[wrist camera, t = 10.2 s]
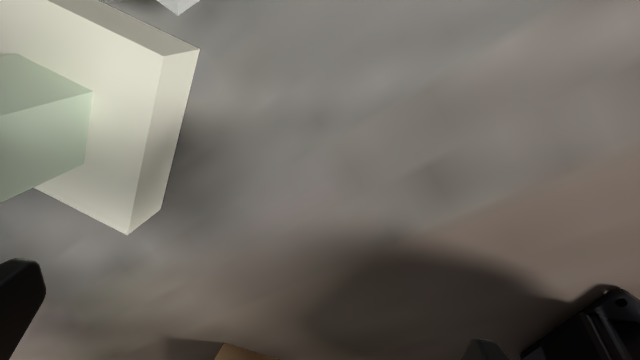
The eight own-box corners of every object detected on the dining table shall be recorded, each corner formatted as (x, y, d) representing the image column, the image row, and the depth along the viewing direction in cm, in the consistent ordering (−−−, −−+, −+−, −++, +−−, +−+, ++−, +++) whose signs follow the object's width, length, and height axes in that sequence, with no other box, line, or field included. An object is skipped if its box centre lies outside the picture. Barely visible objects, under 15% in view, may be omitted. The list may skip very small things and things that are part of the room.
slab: (200, 49, 19) (163, 56, 17) (160, 209, 24) (127, 235, 21) (21, -37, 20) (-42, -42, 17) (16, 136, 24) (-34, 153, 22)
